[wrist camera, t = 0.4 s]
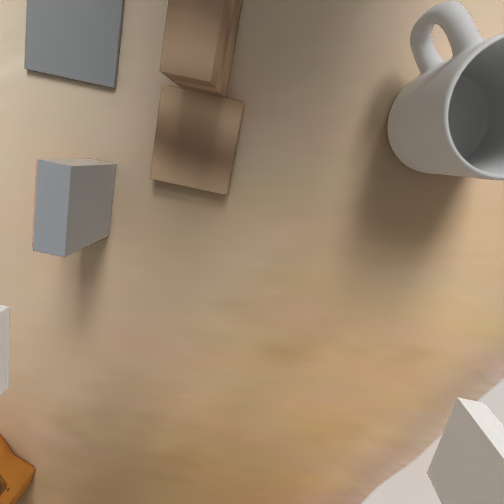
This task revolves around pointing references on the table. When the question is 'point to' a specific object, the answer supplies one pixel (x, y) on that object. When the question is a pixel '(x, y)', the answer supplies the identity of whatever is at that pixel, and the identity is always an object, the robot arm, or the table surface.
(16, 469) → the coffee package
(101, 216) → the tile
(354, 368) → the table surface
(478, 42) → the mug
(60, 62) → the pad
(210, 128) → the stepped wooden block
